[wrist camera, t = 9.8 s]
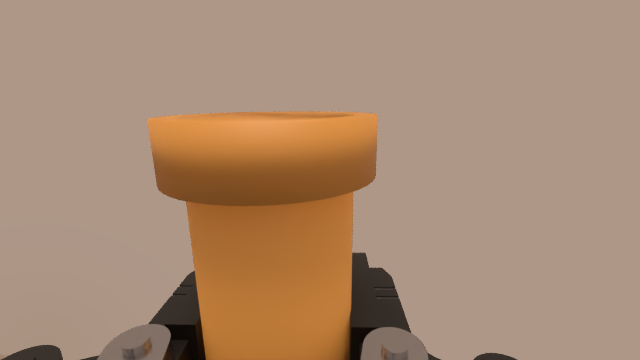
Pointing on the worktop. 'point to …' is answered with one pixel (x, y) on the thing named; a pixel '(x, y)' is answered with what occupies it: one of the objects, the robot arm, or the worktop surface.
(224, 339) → the pin
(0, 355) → the worktop surface
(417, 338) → the robot arm
